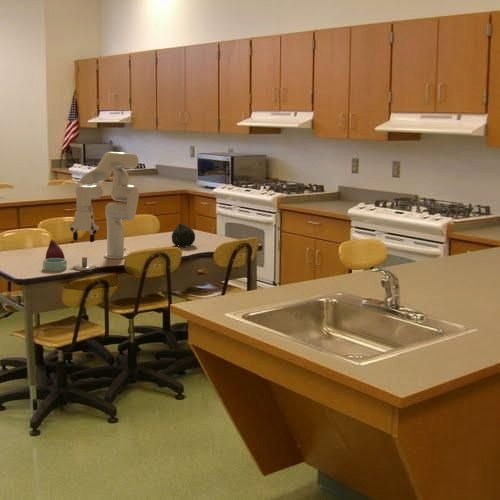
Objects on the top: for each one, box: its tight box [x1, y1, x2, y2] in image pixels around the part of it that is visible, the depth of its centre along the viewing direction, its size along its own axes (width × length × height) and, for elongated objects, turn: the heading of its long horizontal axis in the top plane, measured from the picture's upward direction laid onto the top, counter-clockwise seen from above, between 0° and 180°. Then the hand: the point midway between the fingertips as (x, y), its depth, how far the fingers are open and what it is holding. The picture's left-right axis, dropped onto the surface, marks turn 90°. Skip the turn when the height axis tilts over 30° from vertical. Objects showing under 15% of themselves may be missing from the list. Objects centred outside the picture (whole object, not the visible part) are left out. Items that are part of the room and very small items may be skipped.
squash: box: [171, 223, 196, 247], centre depth 459 cm, size 14×15×15 cm
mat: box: [68, 267, 93, 273], centre depth 389 cm, size 12×12×1 cm
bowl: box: [42, 258, 67, 273], centre depth 385 cm, size 11×11×5 cm
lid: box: [72, 256, 97, 272], centre depth 389 cm, size 12×12×6 cm
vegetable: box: [45, 239, 66, 260], centre depth 399 cm, size 10×10×15 cm
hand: (83, 241), depth 386 cm, fingers open, 9 cm apart
